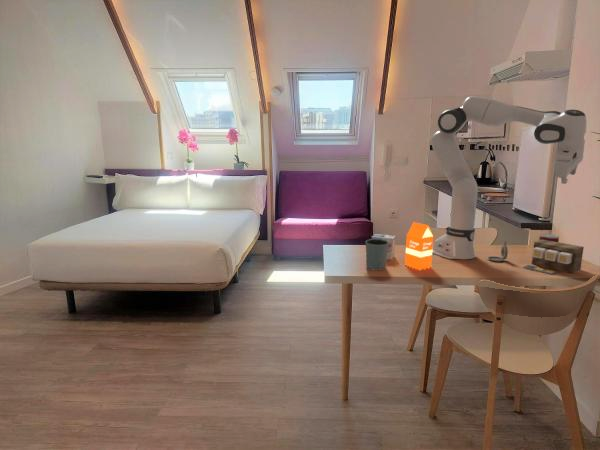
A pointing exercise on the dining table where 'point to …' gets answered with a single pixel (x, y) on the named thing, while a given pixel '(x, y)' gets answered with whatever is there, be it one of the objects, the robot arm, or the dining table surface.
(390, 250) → the light bulb box
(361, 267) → the dining table surface
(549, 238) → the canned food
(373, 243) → the grey green cup
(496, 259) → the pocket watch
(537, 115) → the robot arm
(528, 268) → the pattern tile
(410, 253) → the orange juice
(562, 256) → the button right
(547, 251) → the button middle
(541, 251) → the button left
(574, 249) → the console
